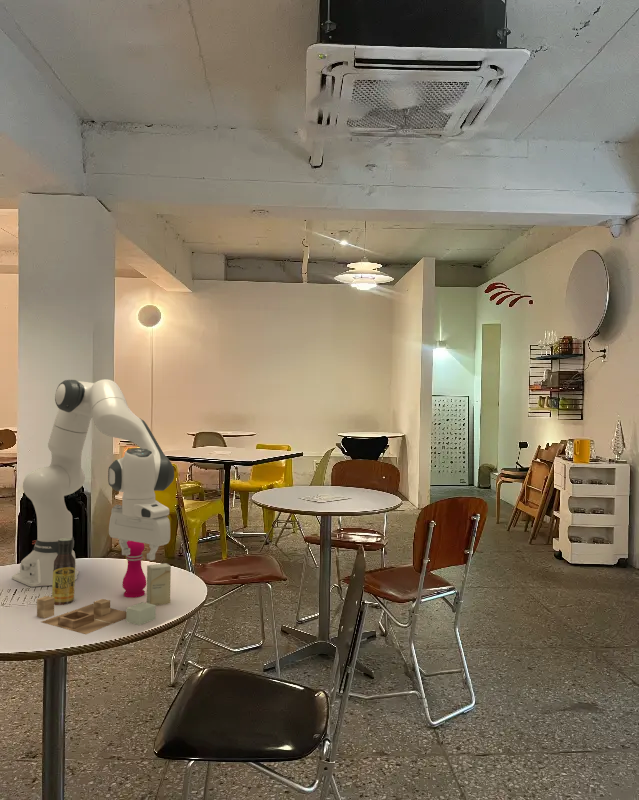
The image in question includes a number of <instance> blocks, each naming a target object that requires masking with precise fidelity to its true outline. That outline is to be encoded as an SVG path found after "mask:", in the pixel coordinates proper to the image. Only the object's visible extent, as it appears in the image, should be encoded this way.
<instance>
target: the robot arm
mask: <svg viewBox="0 0 639 800" xmlns="http://www.w3.org/2000/svg"><path fill="white" fill-rule="evenodd" d="M54 395H55V396H54V401H55V402H54V403H55V405H56V407H57V408H58V411H57V413H56V416H55V419H54V422H53V425H52V428H51V433H50V435H49V438H48V439H49V440H48V443H47V448H48V450H49V451H50V453H51V459H50V460H51V461H50V464H49V466H44V467H40V468H37V469H35V470H33V471H32V472H30V473H28V474H27V475H26V476H25V478H24V479H23V481H22V489H23V493H24V494H25V496H26V497H27V498H28V499H29V500H30V501H31V503H32V505H33V508H34V510H35V514H36V526H37V539H36V540H32V543H31V544H32V545H34V546H33V550H32V551H31V552H30V553H29V554H27V555H26V556H25V557H24V558H23V559H22V560H21V561H20V565H19V572H17V573H15V574H13V575H12V577H11V579H12V580H14V581H16V582H19V583H21V584H23V585H26V586H28V587H31V588H35V587H43V586H45V587H46V586H53V570H54V560H55V559H56V557H57V555H58V551H59V545H58V540H59V539H61V538H72V541H73V543H72V555H73V557H74V559H75V581H76V580H77V579H78V575H79V572H80V571H79V570H77V562H76V561H77V560H76V559H77V558H76V553H75V551H74V550H73V549H74V547H75V540H74V539H75V538H74V536H73V515H72V513H71V511H70V510H68V508H67V506H66V502H65V497H66V496H68V495H71V494H74V493H75V492H77V491H79V489H81V488H82V487H83V485H84V483H85V480H86V479H85V478H86V477H85V473H84V471H83V469H82V453H83V451H84V450H83V449H84V446H85V445H84V444H85V441H86V438H87V435H88V431H89V429H90V428H89V427H90V423H91V421H93V423H94V426H95V428H96V429H97V430H98V431H99V432H100V433H102V434H103V435H106V436H107V437H111V438H115V439H121V440H125V441H128V442H131V443H134V444H135V445H137V446H138V447H133V448H129V449H127V450H126V451H125V452H124V455H123V457H121V458H119V459H115V460H114V461H113V462H112V463H111V464H110V465H109V467H108V468H107V469H108V471H107V472H108V473H107V474H108V475H107V479H108V480H107V481H108V485H109V486H110V487H111V488H112V489H113V490H114V491H116V492H120V493H123V494H122V499H121V501H122V503H121V504H122V505H121V504H114V506H113V507H112V508H111V514H110V518H109V524H108V534H109V537H110V538H111V539H112V538H113V539H118V544H119V547H120V549H121V555H122V556H127V555H130V548H128V545H127V542H128V541H134V542H140V543H144V544H146V545H149V549H150V550H149V552H147V553H146V560H148V561H154V560H155V559H156V553H157V551H158V549H159V547H161V546H166V545H167V544H169V542H170V540H171V521H170V519H169V517H168V516H169V515H170V508H169V507H168V506H166V505H164V504H162V503H161V502H159V501H158V500H156V493H155V491H158V492H159V491H161V492H163V491H165V490H166V489H167V488H168V487H170V485H171V484H172V483H173V482H174V480H175V468H174V466H173V463H172V461H171V460H170V459H169V457H167V455H165V453H164V451H163V450H162V449H161V446H160V445H159V442H158V441H157V439H156V438H155V436H154V434H153V433H152V431H151V429H150V428H149V426H148V424H147V423H146V422H145V421H144V420H143V419H142V418H140V417H139V416H137V415H136V414H135V413H134V412H133V411H132V410H131V409H130V407H129V405H128V402H127V399H126V397H125V394H124V393H123V390H122V389H121V388H120V386H119V385H118V383H116V381H114V380H112V379H107V378H106V379H105V378H104V379H99V380H98V381H95V382H90V381H82V380H81V381H80V380H76V379H65V380H63V381H62V382H60V383H59V384H58V386H57V388H56V390H55V394H54ZM91 419H92V420H91Z"/></svg>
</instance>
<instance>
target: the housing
mask: <svg viewBox="0 0 639 800" xmlns="http://www.w3.org/2000/svg"><path fill="white" fill-rule="evenodd" d="M156 606H157V605H153V604H149V603H147V602H144V601H142V602H139V603H136V604H134V605H131V606H128V607H126V611H125V612H126V619H125V620H126V623H130V624H134V625H138V626H141V625H143V624H146V623H149V622H151V621H153V620H156Z"/></svg>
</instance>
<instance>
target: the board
mask: <svg viewBox="0 0 639 800" xmlns="http://www.w3.org/2000/svg"><path fill="white" fill-rule="evenodd" d="M124 620H126V611H124V610H121V609H120V610H119V609H115V608H112V607H111V600H109V599H105V598H101V599H98V600H94V601H93V603H91V604H88V605H85V606H82V607H80V608H76V609H73V610H71V611H67V612H66V613H62V614H59V615H57V616H54V617H53V616H52V617H51V618H50V617H49V618H48V619H47V618H46V619H45V620H42V621H41V623H43V624H46V625H50V626H53V627H57V628H60V629H65V630H68V631H71V632H76V633H79V634H83V635H88V634H91V633H93V632H95V631H98V630H102V629H103V628H106V627H108V626H111V625H113V624H116V623H118V622H120V621H124Z"/></svg>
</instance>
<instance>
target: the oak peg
mask: <svg viewBox="0 0 639 800" xmlns="http://www.w3.org/2000/svg"><path fill="white" fill-rule="evenodd" d="M53 616H54V617H55V605H54V598H53V597H52V596H49V595H45V596H42V597H39V598H37V599H36V617H38V618H41V619H45V620H46V619H47V618H48V619H49V618H50V617H51V618H52V617H53Z"/></svg>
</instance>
